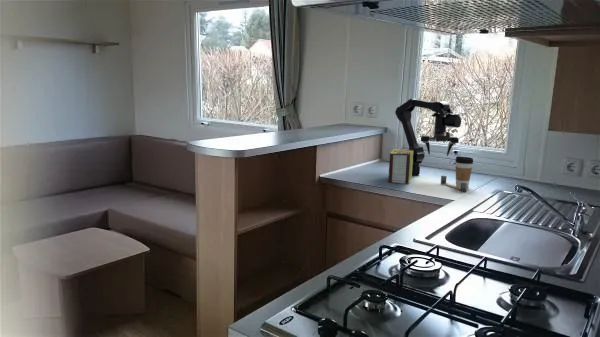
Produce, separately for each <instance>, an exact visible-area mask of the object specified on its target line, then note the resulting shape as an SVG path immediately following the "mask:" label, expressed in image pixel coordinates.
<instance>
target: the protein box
mask: <svg viewBox="0 0 600 337" xmlns="http://www.w3.org/2000/svg"><path fill="white" fill-rule="evenodd" d="M388 162H389V163H388V164H389V165H388V166H389V167H388V183H391V184H401V185H409V184H410V183H411V180H412V176H413V175H412V164H413V150H409V149H398V148H393V149H392V150H391V152H390V153H389V161H388Z"/></svg>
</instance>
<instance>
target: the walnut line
mask: <svg viewBox="0 0 600 337" xmlns="http://www.w3.org/2000/svg"><path fill="white" fill-rule="evenodd" d="M440 185H444V186H446V187H449V188H451V189H453V188H454V189H453V190H455V191H458V190H459V191H458V192H460V191H461V192H460V193H466V192H467V188H466V186H467V183H461V188H459V187H456V185H453V184H450V183H447V175H441V176H440Z"/></svg>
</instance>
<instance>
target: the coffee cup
mask: <svg viewBox="0 0 600 337" xmlns="http://www.w3.org/2000/svg"><path fill="white" fill-rule="evenodd" d="M473 164H474V158H473V157H469V156H459V155H457V156H456V158H455V187H458V188H459V187H460V188H461V183H467V186H466V189H467V188H469V186H470V181H471V175H472V169H473Z"/></svg>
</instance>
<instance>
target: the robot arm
mask: <svg viewBox="0 0 600 337" xmlns="http://www.w3.org/2000/svg"><path fill="white" fill-rule="evenodd" d="M415 108H421V109H422V108H423V109H427V110H431V111H432V112H433V114H432V115H431V117H432V118H435V120H434V131H433V132H434V133H433V136H430V135H424V134H423V135H421V136H420V142H422V143H423V144H425V147H426V150H427V153H428V156H430V154H431V152H430V150H431V149H430V148H431V147H430V141H432V142H433V141H436V142H438V143H439V142H443V143H445V142H448V144H447V151H446V157H448V156H449V154H450V152H451V149H452V148H453V146H454V145H455V146H456V145H457V144H459V141H460V140H459V138H458V137H457V136H451V133H450V131H446V130H447V128H460V127H461V125H462V119H461V117H460V114H459V113H456V114H455V113H454V112H453V110H452V109H451V107H450V104H449V102H448V101H429V100H423V99H418V98H409V99H408V100H406V101H405V102H404V103H403V104H401V105H399V106H398V107H396V109H395V111H394V113H395V116H396V117H397V119H398V120H399V122H400V123H401V124H402V128H403V131H404V134H405V138H406V141H407V145H408V150H413V164H412V176H417V177H418V176H420V169H421V166H420V164H422V162H423V161H424V159H425V154H426V153H425V150H424V147H423V146H419V143H418V140H417V138H416V135H415V132H414V127H413V125H412V122H411V121H412V120H411V119H412V112H413V111H414V110H415Z"/></svg>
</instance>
